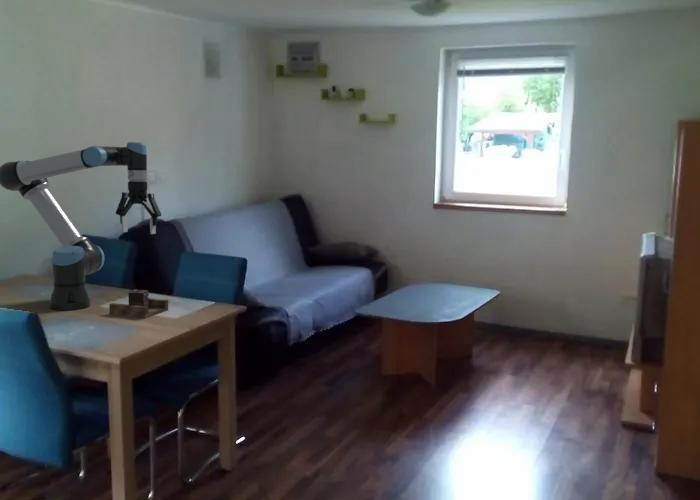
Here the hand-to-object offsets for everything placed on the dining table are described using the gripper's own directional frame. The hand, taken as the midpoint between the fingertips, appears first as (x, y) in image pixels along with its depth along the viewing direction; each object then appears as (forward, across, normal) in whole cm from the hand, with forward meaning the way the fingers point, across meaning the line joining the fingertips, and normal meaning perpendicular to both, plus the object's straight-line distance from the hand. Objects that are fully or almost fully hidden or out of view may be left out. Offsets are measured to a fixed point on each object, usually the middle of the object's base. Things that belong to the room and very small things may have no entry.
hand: (138, 232), depth 281 cm
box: (+28, +11, -16) cm, 34 cm away
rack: (+29, +11, -16) cm, 35 cm away
